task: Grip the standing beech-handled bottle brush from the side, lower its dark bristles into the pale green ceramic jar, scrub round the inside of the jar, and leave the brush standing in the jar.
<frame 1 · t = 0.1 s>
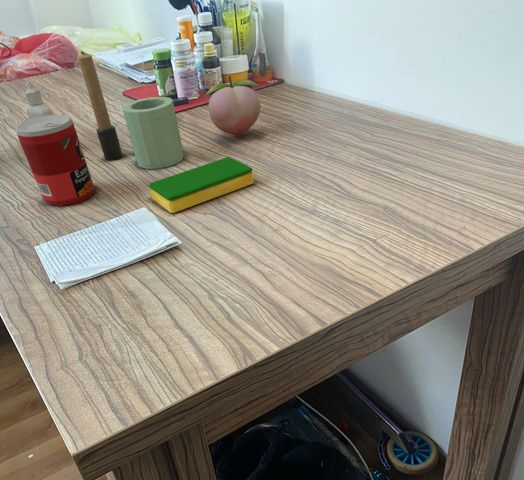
dish sponge: (203, 192, 76), on the table
decorative fruit: (237, 137, 93), on the table
eye dropper bottle: (54, 152, 97), on the table
canned food: (70, 197, 80), on the table
jar: (160, 159, 88), on the table
brush: (114, 157, 91), on the table
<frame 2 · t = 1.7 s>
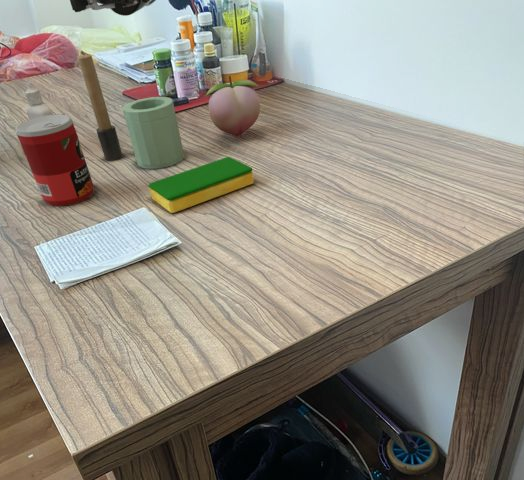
hand: (98, 2, 85), 22 cm above the table, tool horizontal, fingers open, 8 cm apart
nothing on the table moved.
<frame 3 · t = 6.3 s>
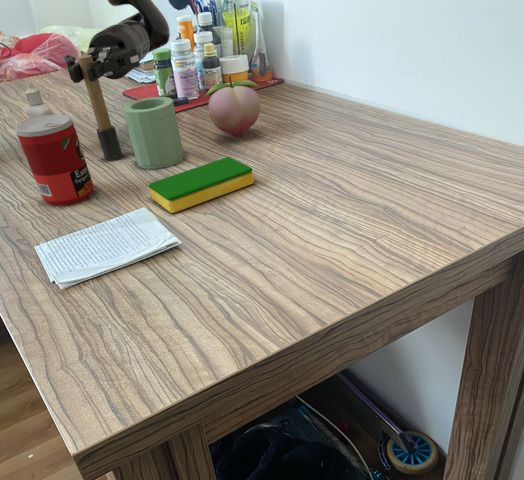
hand: (81, 75, 80), 14 cm above the table, tool horizontal, fingers closed on brush, 2 cm apart
brush: (114, 157, 91), on the table, touching gripper
everything else where it was.
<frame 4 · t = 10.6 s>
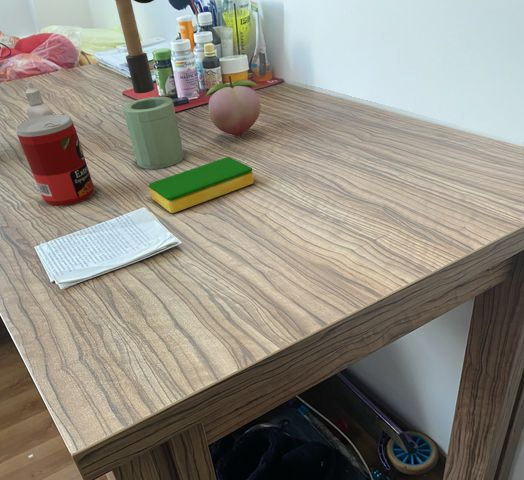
brush: (144, 90, 81), point 11 cm above the table, touching gripper
everything else where it was.
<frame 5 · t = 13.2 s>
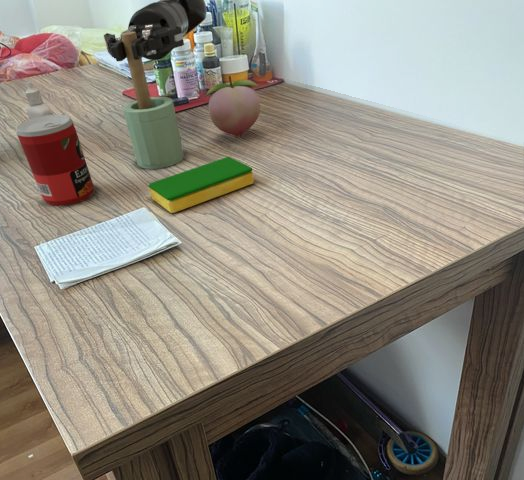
hand: (125, 52, 75), 17 cm above the table, tool horizontal, fingers closed on brush, 2 cm apart
brush: (153, 142, 87), point 3 cm above the table, touching gripper
everything else where it was.
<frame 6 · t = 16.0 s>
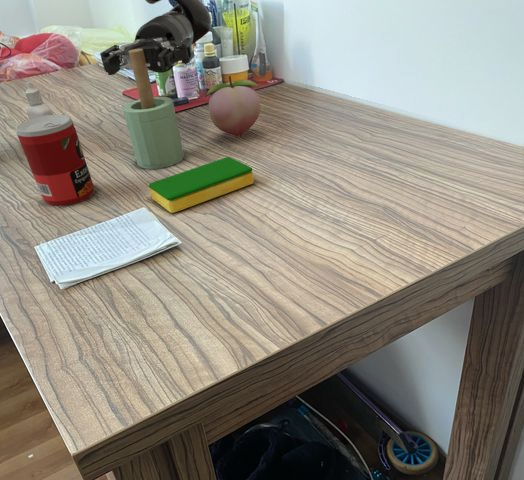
hand: (135, 65, 77), 15 cm above the table, tool horizontal, fingers open, 8 cm apart
brush: (160, 156, 88), point 1 cm above the table, touching jar
everything else where it was.
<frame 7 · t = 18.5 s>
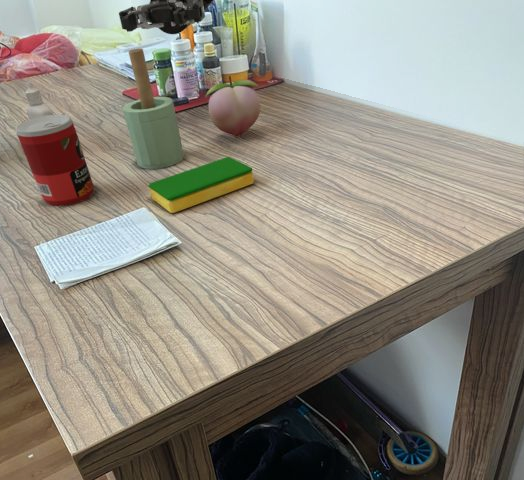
hand: (151, 22, 84), 19 cm above the table, tool horizontal, fingers open, 8 cm apart
nothing on the table moved.
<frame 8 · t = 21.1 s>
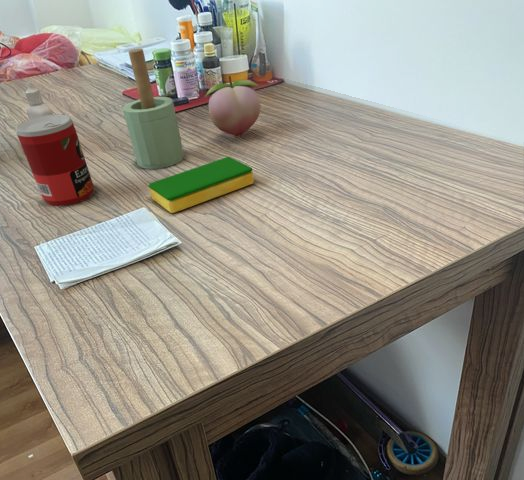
nothing on the table moved.
at the end: brush 0.1 cm off-centre in the jar, point 0.6 cm above the jar's base; brush tilted 0°; the gripper is holding nothing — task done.
